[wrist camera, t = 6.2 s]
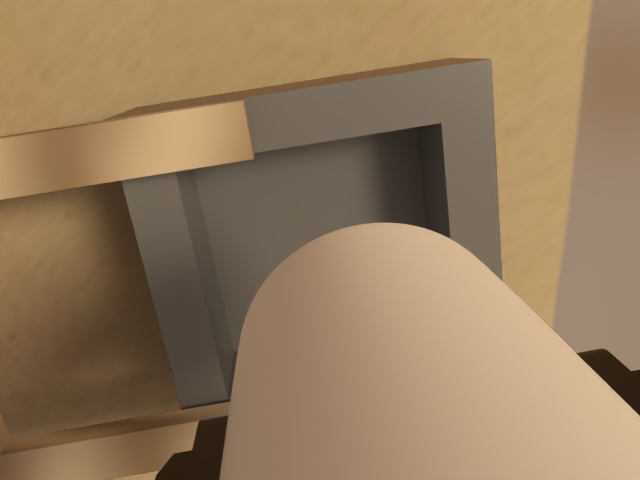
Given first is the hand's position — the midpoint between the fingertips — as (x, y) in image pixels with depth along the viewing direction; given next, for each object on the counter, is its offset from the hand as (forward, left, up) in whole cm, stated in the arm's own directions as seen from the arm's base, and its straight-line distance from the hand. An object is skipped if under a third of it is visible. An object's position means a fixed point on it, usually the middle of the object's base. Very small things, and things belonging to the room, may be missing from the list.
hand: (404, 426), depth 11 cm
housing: (-1, -1, -17) cm, 17 cm away
